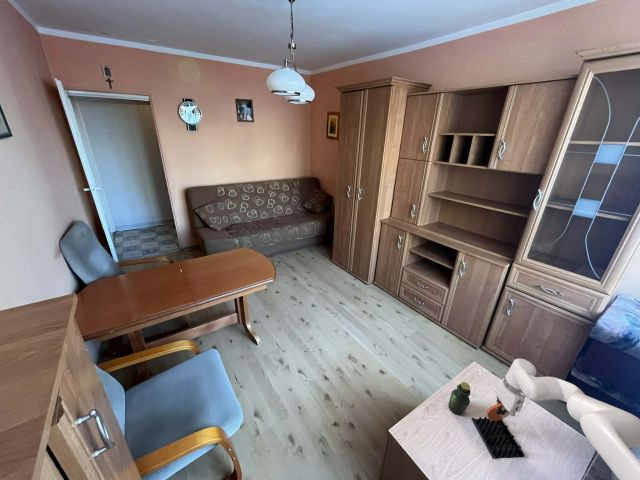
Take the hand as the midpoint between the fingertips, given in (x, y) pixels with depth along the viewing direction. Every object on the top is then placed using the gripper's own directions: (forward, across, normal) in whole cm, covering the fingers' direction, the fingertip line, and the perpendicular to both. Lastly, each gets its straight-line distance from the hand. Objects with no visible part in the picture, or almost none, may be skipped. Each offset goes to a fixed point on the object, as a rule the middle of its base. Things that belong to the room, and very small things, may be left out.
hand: (499, 411), depth 117 cm
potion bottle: (+13, +9, +12) cm, 20 cm away
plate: (+6, 0, 0) cm, 6 cm away
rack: (+13, -4, 0) cm, 13 cm away
